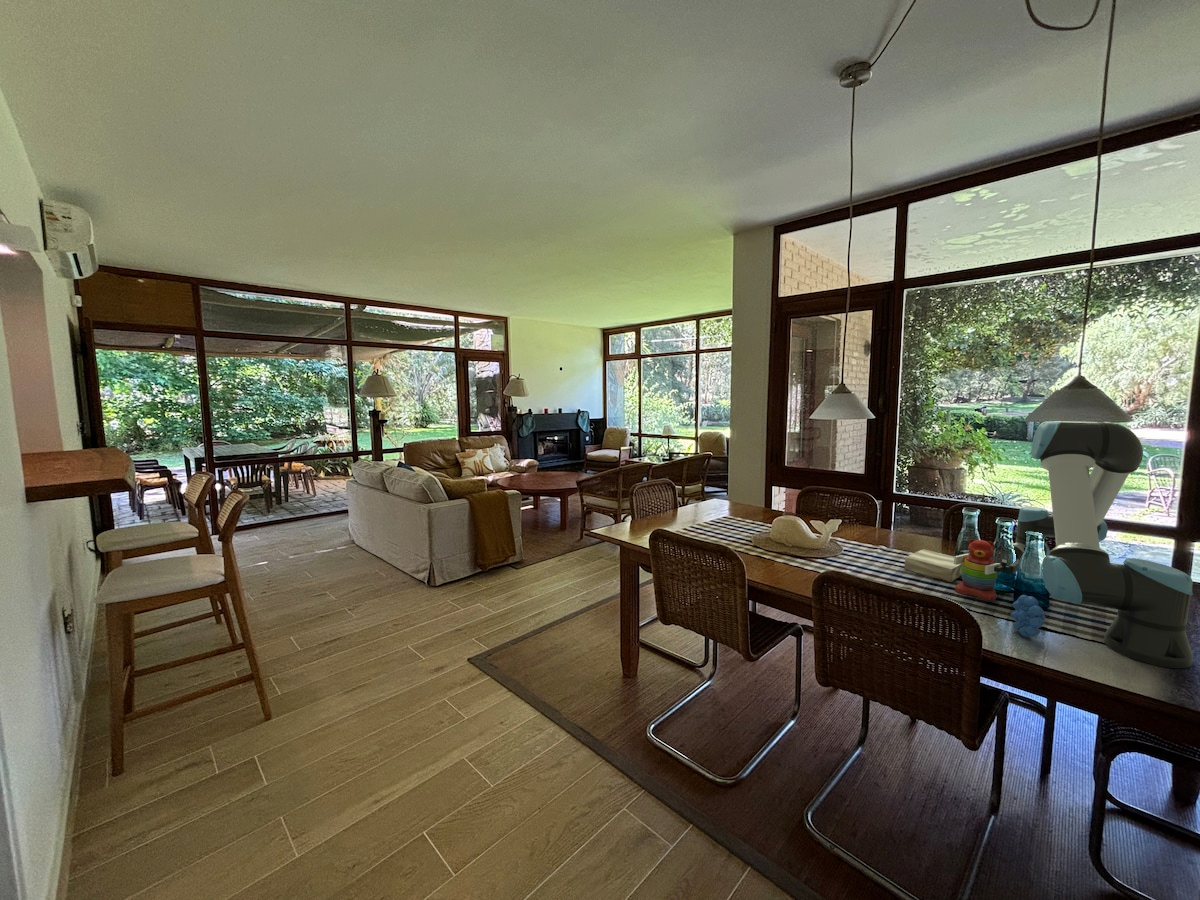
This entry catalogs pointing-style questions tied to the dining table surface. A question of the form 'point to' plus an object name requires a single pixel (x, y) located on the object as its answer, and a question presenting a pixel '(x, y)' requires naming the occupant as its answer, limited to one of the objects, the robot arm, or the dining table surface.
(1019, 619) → the grapes
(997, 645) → the dining table surface
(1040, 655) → the dining table surface
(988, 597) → the stacking bear
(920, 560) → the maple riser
